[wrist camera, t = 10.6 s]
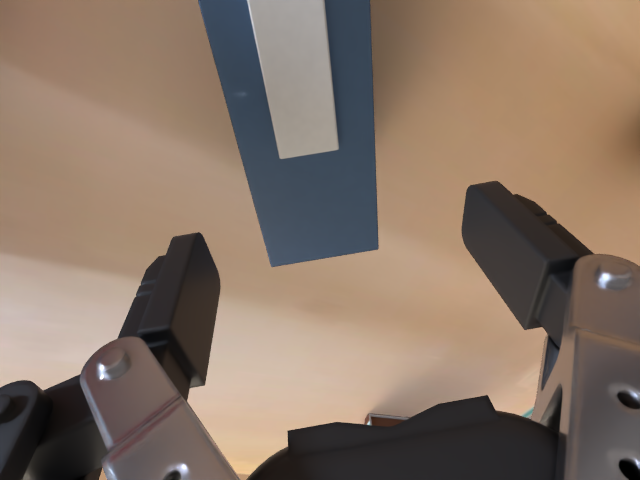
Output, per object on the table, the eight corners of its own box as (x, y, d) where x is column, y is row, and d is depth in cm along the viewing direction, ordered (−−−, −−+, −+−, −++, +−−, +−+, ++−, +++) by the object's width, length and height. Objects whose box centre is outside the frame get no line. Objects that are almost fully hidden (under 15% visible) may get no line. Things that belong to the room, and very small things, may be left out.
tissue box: (271, 186, 23) (271, 271, 16) (208, -88, 15) (156, -140, 8) (348, 173, 23) (380, 253, 16) (325, -105, 15) (367, -171, 8)
